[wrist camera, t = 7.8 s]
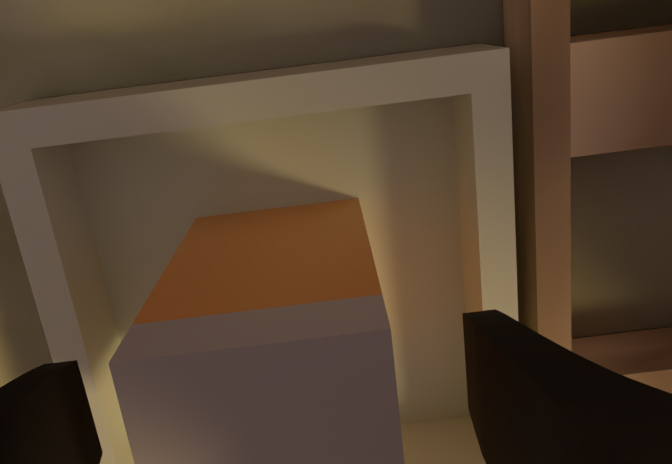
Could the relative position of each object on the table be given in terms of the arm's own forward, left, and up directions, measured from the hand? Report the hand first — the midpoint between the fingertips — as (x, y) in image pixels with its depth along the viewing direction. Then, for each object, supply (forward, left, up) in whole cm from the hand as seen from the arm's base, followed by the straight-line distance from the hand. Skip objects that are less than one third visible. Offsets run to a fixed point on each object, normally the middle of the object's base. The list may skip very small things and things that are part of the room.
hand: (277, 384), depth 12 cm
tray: (0, 0, -5) cm, 5 cm away
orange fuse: (0, 0, -5) cm, 5 cm away
